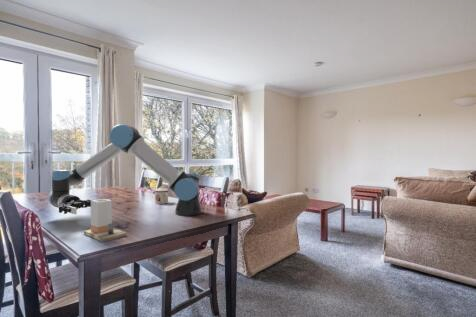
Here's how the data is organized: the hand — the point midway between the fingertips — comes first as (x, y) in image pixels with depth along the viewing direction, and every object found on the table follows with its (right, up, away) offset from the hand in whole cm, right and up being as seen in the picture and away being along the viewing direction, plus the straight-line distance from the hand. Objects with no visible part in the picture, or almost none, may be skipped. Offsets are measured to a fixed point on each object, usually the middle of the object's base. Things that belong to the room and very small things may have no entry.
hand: (91, 208), depth 123 cm
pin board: (+9, -10, -6) cm, 15 cm away
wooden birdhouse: (+14, -8, +65) cm, 67 cm away
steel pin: (+13, -9, -9) cm, 18 cm away
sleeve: (+6, -9, -4) cm, 11 cm away
